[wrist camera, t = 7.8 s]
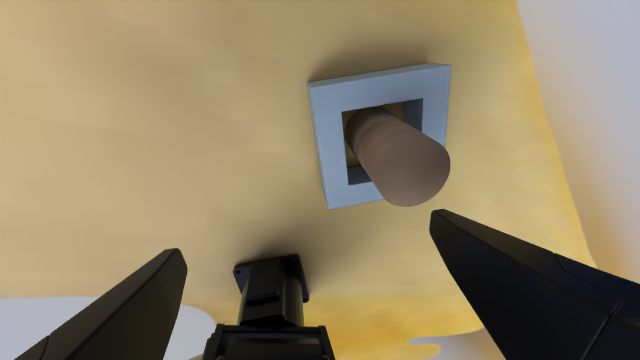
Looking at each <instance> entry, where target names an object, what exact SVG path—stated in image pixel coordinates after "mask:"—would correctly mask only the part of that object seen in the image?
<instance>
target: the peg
mask: <svg viewBox="0 0 640 360" xmlns="http://www.w3.org/2000/svg"><path fill="white" fill-rule="evenodd" d="M346 141H347V143H348V145H349V147H350V148H351V150H352V152H353V153H354V155H355V156H356V158H357V159H358V161H359V162H360V164H361V165H362V167H363V168H364V170H365V171H366V173H367V174H368V176H369V177H370V179H371V180H372V182H373V183H374V185H375V186H376V188H377V189H378V191H379V192H380V194H381V195H382V197H383V198H384V199H385V200H387V201H388V202H390V203H391V204H394V205H397V206H403V207H409V206H415V205H418V204H421V203H423V202H426V201H427V200H429V199H431V198H432V197H433V196H435V195H436V194H437V193H438V192H439V191H440V190H441V188H442V187H443V186H444V184H445V182H446V180H447V178H448V175H449V172H450V158H449V155H448V152H447V151H446V149H445V148H444V147H443V146H442V145H441V144H440V143H439V142H437V141H436V140H434V139H432V138H430V137H429V136H427V135H425V134H424V133H422V132H420V131H419V130H417V129H415V128H414V127H412V126H410V125H409V124H407V123H405V122H404V121H402V120H400V119H399V118H397V117H395V116H393V115H392V114H390V113H388V112H387V111H385V110H383V109H381V108H378V107H368V108H364V109H362V110H360V111H358V112H357V113H356V114H355V115H354V116H353V117H352V118H351V119H350V121H349V123H348V125H347V128H346Z"/></svg>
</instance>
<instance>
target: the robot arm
mask: <svg viewBox="0 0 640 360" xmlns="http://www.w3.org/2000/svg"><path fill="white" fill-rule="evenodd" d="M429 231H430V235H431V237H432V239H433V241H434V243H435V245H436V247H437V249H438V251H439V253H440V255H441V257H442V259H443V261H444V263H445V265H446V267H447V269H448V270H449V272H450V274H451V275H452V277H453V278H454V280H455V282H456V283H457V285H458V286H459V288H460V289H461V291H462V292H463V294H464V295H465V297H466V299H467V300H468V302H469V303H470V305H471V306H472V308H473V309H474V311H475V312H476V314H477V316H478V317H479V319H480V320H481V322H482V323H483V325H484V326H485V328H486V329H487V331H488V332H489V334H490V336H491V337H492V339H493V340H494V342H495V343H496V345H497V346H498V348H499V350H500V351H501V353H502V354H503V355H504V357H505V359H506V360H640V284H638V283H635V282H633V281H630V280H627V279H624V278H621V277H618V276H615V275H612V274H610V273H607V272H604V271H601V270H598V269H596V268H593V267H590V266H588V265H585V264H582V263H580V262H577V261H575V260H572V259H569V258H567V257H564V256H562V255H559V254H557V253H553V252H552V251H549V250H547V249H544V248H541V247H539V246H536V245H534V244H531V243H529V242H526V241H524V240H521V239H519V238H516V237H514V236H511V235H509V234H506V233H503V232H501V231H498V230H496V229H493V228H491V227H488V226H486V225H483V224H481V223H478V222H476V221H473V220H471V219H468V218H466V217H463V216H460V215H458V214H455V213H453V212H450V211H448V210H445V209H439V210H433V211H432V213H431V219H430V227H429ZM294 259H297V260H294ZM237 270H240V271H237ZM233 274H234V277H235V279H236V282H237V284H238V287H239V289H240V292H241V294H242V299H241V304H240V310H239V315H238V321H237V325H225V324H217V326H216V329H215V332H214V333H212V335H211V337H210V338H209V339H208V340H207V343H206V346H205V350H204V354H203V357H202V360H335V357H334V354H333V350H332V347H331V344H330V340H329V337H328V334H327V330H326V327H325V326H318V327H304V316H303V303H306V302H308V301H309V294H308V290H307V285H306V281H305V277H304V272H303V268H302V264H301V259H300V256H299V255H297V254H294V255H288V256H283V257H278V258H273V259H267V260H262V261H257V262H251V263H246V264H241V265H236V266H235V267H234V269H233ZM186 276H187V265H186V262H185V260H184V258H183V255H182V253H181V251H180V249H178V248H172V249H166V250H164V251H163V252H161V253H160V254H158V255H157V256H156V257H154V258H153V259H152V260H150V261H149V262H147V263H146V264H145V265H143V266H142V267H141V268H139V269H138V270H137V271H135V272H134V273H132V274H131V275H130V276H128V277H127V278H126V279H124V280H123V281H121V282H120V283H119V284H117V285H116V286H115V287H113V288H112V289H111V290H109V291H108V292H106V293H105V294H104V295H102V296H101V297H100V298H98V299H97V300H95V301H94V302H93V303H91V304H90V305H89V306H87V307H86V308H85V309H83V310H82V311H80V312H79V313H78V314H76V315H75V316H74V317H72V318H71V319H70V320H68V321H67V322H65V323H64V324H63V325H61V326H60V327H59V328H57V329H56V330H54V331H53V332H52V333H51V334H50V336H49V335H48V336H46V337H45V338H43V339H42V340H41V341H39V342H38V343H37V344H35V345H34V346H32V347H31V348H30V349H28V350H27V351H26V352H24V353H23V354H21V355H20V356H18V357H17V358H16V359H14V360H163V358H164V355H165V352H166V348H167V346H168V343H169V340H170V337H171V334H172V331H173V328H174V325H175V322H176V319H177V315H178V312H179V308H180V303H181V299H182V294H183V289H184V285H185V280H186Z"/></svg>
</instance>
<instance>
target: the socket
mask: <svg viewBox="0 0 640 360" xmlns="http://www.w3.org/2000/svg"><path fill="white" fill-rule="evenodd" d="M450 77H451V65H447V64H435V63H425V64H419V65H413V66H407V67H400V68H394V69H388V70H382V71H376V72H370V73H363V74H357V75H351V76H345V77H339V78H333V79H326V80H320V81H314V82H308V83H307V88H308V94H309V101H310V107H311V114H312V120H313V127H314V133H315V140H316V146H317V153H318V159H319V166H320V172H321V179H322V186H323V192H324V195H325V199H326V203H327V207H328V210H329V209H334V208H340V207H345V206H351V205H356V204H362V203H367V202H373V201H378V200H384V198H383V197H382V195H381V194H380V192H379V191H378V189H377V188H376V186H375V185H374V183H373V182H372V180H371V179H370V177H369V176H368V174H367V173H366V171H365V170H364V168H363V167H362V166H358V167H352V168H347V166H346V156H345V146H344V136H343V126H342V116H341V112H343V111H349V110H354V109H360V108H366V107H372V106H378V105H384V104H390V103H396V102H402V101H405V121H404V122H405V123H407V124H409V125H410V126H412V127H414V128H415V129H417V130H419V131H420V132H422V133H424V134H425V135H427V136H429V137H430V138H432V139H434V140H436V141H437V142H439V143H440V144H441V145H442V146H443V147H444V148H445V136H446V124H447V113H448V101H449V89H450Z"/></svg>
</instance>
